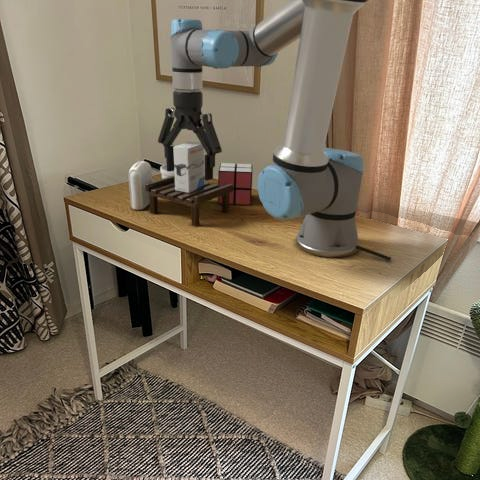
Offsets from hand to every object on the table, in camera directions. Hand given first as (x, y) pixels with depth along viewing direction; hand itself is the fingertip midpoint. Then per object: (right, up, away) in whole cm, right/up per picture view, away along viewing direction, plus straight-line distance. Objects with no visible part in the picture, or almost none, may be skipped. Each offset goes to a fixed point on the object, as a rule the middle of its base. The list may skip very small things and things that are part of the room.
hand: (189, 175), depth 134 cm
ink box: (0, -3, +2) cm, 4 cm away
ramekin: (-5, +3, +25) cm, 26 cm away
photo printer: (-15, -6, +10) cm, 19 cm away
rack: (0, -9, +6) cm, 11 cm away
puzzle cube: (+12, -3, +17) cm, 21 cm away
